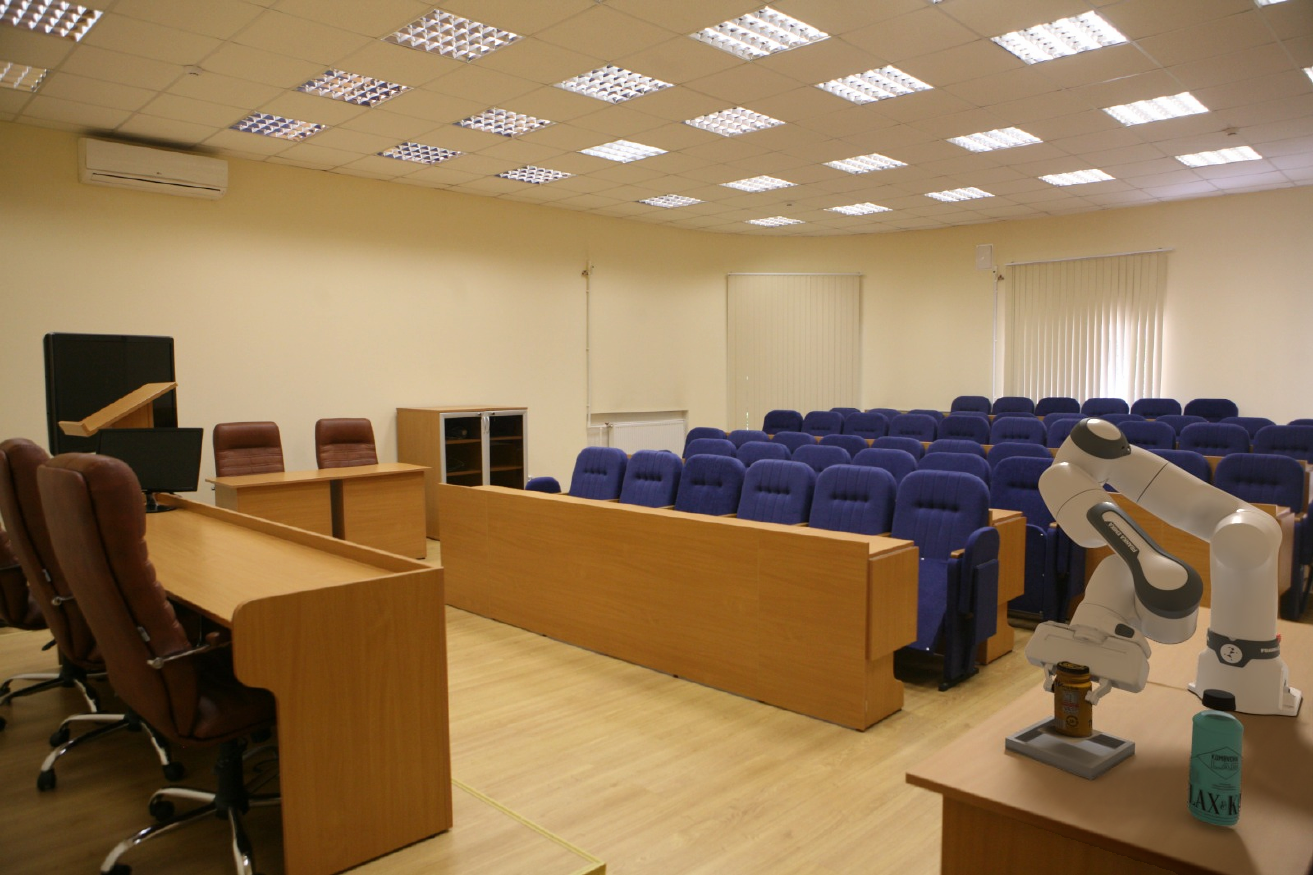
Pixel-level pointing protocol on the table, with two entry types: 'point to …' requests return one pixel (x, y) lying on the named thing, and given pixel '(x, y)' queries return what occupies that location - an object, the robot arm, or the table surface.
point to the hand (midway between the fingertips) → (1068, 696)
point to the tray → (1071, 750)
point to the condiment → (1071, 704)
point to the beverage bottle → (1216, 761)
